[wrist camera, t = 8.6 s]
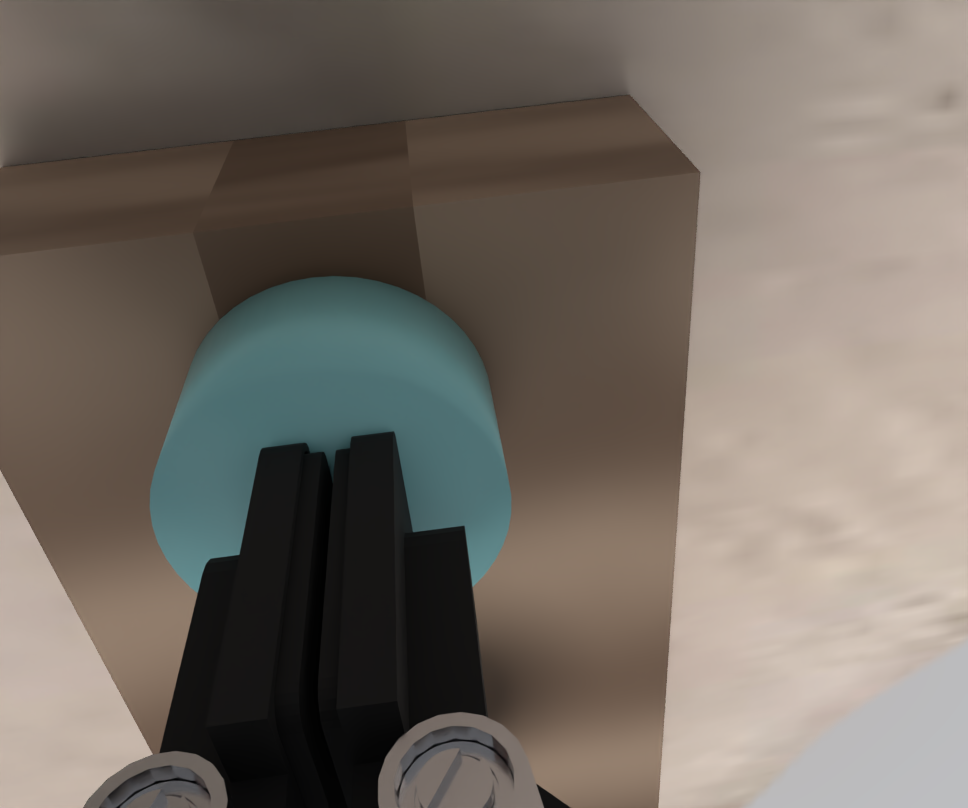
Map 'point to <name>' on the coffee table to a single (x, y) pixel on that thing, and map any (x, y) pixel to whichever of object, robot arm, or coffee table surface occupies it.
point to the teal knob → (331, 414)
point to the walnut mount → (442, 282)
